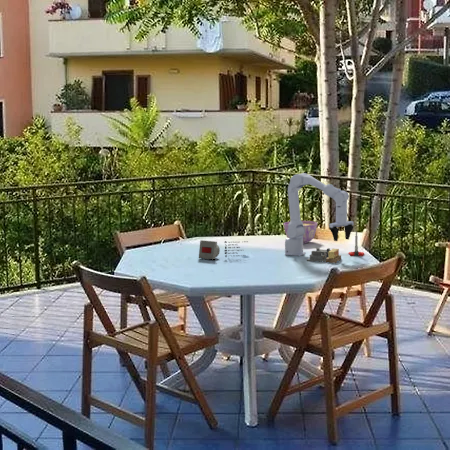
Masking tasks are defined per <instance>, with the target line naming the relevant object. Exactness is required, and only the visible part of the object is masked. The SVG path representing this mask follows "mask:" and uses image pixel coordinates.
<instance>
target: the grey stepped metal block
mask: <svg viewBox="0 0 450 450" xmlns="http://www.w3.org/2000/svg"><path fill="white" fill-rule="evenodd" d="M330 250H331V248H329V247H328V248H327V249H321V248H320V247H316V250H312V251H310V252H311V254H309V258H307V259H306V261H307V262H315V261H319V262H318V263H327V262H326V258H328V252H329V251H330ZM320 261H321V262H320ZM322 261H323V262H322Z"/></svg>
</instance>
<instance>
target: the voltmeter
mask: <svg viewBox="0 0 450 450" xmlns="http://www.w3.org/2000/svg"><path fill="white" fill-rule="evenodd" d="M227 242H228V243H229V244H228V245H227ZM248 242H249V241H247V240H246V241H245V240H244V241H243V243H248ZM224 243H225V246H224V247H225V249H224V254H225V258H227V257H228V255H229V254H230V251H231V254H233V255H232V257H244V256H245V257H246V254H241V255H238V252H240V251H241V252H242V251H243V249H240V246H238V243H239V241H226V240H225V241H224ZM230 243H231V244H230ZM232 243H236V244H232ZM227 246H228V249H227ZM231 246H232V247H231ZM234 246H235V249H234ZM230 249H232V250H230ZM198 250H199V251H198V259H200V258H204V259H203V260H209V259H212V260H211V261H214V260H213V259H215V258H218V256H219V254H220V252H221V249H220V246H219V245H218V241H213V240H203V239H200V241H199V249H198ZM234 251H236V252H234ZM234 254H237V255H234ZM215 260H216V259H215Z"/></svg>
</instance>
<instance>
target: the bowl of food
mask: <svg viewBox="0 0 450 450" xmlns="http://www.w3.org/2000/svg"><path fill="white" fill-rule="evenodd" d="M301 221H302V222H303V226H304V228H305V234H304V235H303V245H304V244H307V243H309V242H311V241H312V240H314V239H315V236H316V235H315V234H316V231H317V227H318V221H311V220H301ZM289 223H290V221H285V222H283V229H284V232H285V237H286V238H289V236H288V234H287V231H288V225H289Z"/></svg>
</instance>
